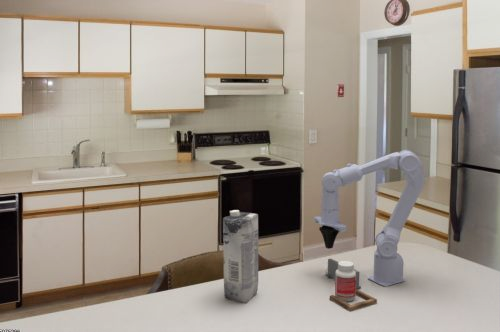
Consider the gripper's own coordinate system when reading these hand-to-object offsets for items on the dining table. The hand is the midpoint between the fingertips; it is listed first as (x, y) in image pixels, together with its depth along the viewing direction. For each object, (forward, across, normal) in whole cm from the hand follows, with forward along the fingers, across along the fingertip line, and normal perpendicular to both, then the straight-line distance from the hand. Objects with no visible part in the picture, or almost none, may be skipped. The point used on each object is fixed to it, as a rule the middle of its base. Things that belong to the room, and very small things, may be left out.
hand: (329, 247), depth 158 cm
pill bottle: (+11, +16, -6) cm, 20 cm away
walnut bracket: (+10, +18, -6) cm, 22 cm away
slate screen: (+10, +6, +1) cm, 12 cm away
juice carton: (+11, -2, -33) cm, 35 cm away
